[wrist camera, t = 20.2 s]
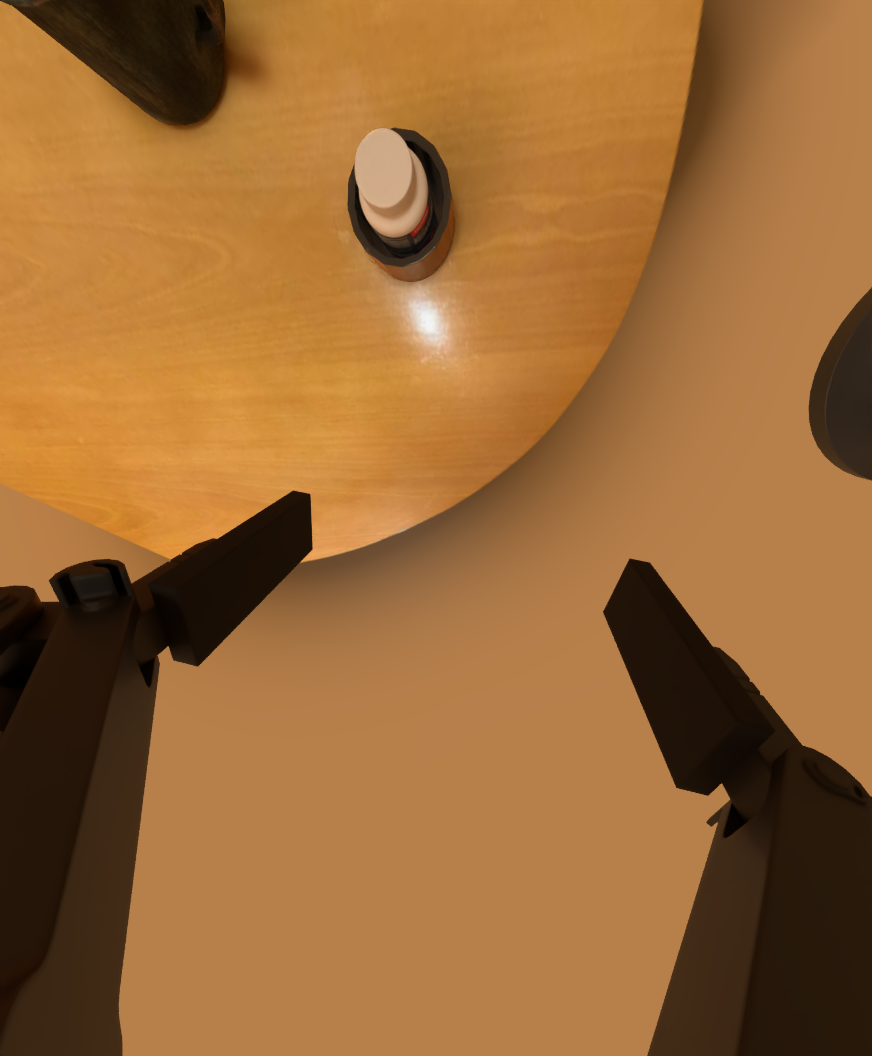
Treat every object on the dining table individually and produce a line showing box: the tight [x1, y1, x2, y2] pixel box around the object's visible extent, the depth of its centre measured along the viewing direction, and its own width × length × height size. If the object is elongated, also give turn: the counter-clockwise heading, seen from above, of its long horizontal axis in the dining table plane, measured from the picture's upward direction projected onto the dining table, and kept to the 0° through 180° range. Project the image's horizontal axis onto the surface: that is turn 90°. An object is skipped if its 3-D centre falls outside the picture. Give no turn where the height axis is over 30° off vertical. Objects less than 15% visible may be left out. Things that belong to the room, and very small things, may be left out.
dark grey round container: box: [348, 128, 455, 282], centre depth 28 cm, size 8×8×5 cm
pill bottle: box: [355, 128, 436, 258], centre depth 26 cm, size 5×5×9 cm
